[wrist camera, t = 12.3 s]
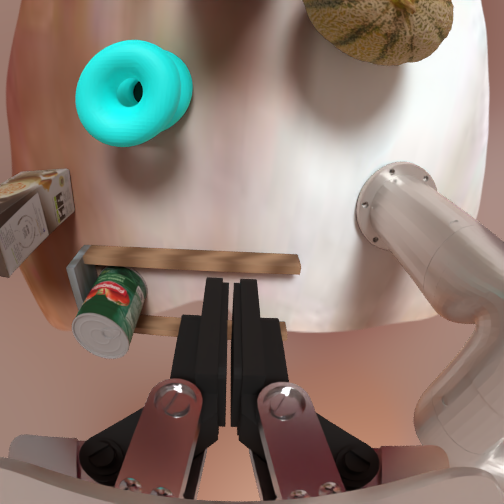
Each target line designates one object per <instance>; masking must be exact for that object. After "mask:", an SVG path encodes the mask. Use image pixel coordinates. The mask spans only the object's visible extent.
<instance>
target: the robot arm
mask: <svg viewBox="0 0 504 504" xmlns="http://www.w3.org/2000/svg"><path fill="white" fill-rule="evenodd" d="M389 171H390V172H389ZM363 203H364V204H363ZM356 214H357V222H358V225H359V228H360V230H361V231H362V233H363V235H364V236H365V237H366V239H367V240H368V241H369V242H370V243H371V244H373V245H374V246H376V247H378V248H381V249H385V250H390V251H391V252H392V253H393V254H394V256H395V257H396V258H397V260H398V261H399V262H400V264H401V265H402V266H403V267H404V269H405V270H406V271H407V273H408V274H409V275H410V277H411V278H412V280H413V281H414V282H415V284H416V285H417V286H418V288H419V289H420V291H421V292H422V293H423V295H424V296H425V298H426V299H427V300H428V302H429V303H430V304H431V306H432V307H433V309H434V310H435V311H436V312H437V313H438V314H439V315H440V316H442V317H443V318H445V319H447V320H449V321H452V322H455V323H462V324H476V327H475V330H474V332H473V334H472V335H471V337H470V338H469V339H468V341H467V342H466V343H465V345H464V347H463V348H462V349H461V350H460V352H459V353H458V354H457V355H456V356H455V357H454V359H453V360H452V361H451V362H450V363H449V365H448V366H447V367H446V368H445V369H444V370H443V371H442V372H441V373H440V374H439V376H438V377H437V378H436V379H435V380H434V381H433V382H432V384H431V385H430V386H429V387H428V388H427V389H426V391H425V392H424V393H423V394H422V396H421V398H420V399H419V401H418V403H417V406H416V408H415V412H414V426H415V431H416V434H417V436H418V438H419V440H420V442H421V444H422V446H381V447H380V448H371V447H370V446H369V445H367V444H366V443H364V442H362V441H361V440H359V439H357V438H356V437H354V436H352V435H350V434H349V433H347V432H346V431H344V430H343V429H341V428H339V427H338V426H336V425H335V424H333V423H331V422H329V421H328V420H327V419H325V418H324V417H322V416H320V415H319V414H317V413H316V412H315V409H314V406H313V404H312V401H311V399H310V397H309V395H308V394H307V392H306V391H305V390H304V389H302V388H301V387H300V386H298V385H295V384H293V383H289V380H288V374H287V367H286V360H285V354H284V348H283V341H282V335H281V329H280V323H279V319H278V318H260V308H259V298H258V287H257V280H256V279H240V283H234V292H233V312H232V333H231V427H237V435H239V441H240V442H241V443H243V444H244V445H245V446H246V447H248V448H249V454H250V458H251V463H252V467H253V471H254V476H255V479H256V484H257V488H258V492H259V496H260V500H261V501H254V502H253V501H251V502H231V501H228V502H227V501H205V500H196V499H197V494H198V490H199V485H200V481H201V476H202V471H203V467H204V462H205V458H206V453H207V448H208V447H209V446H211V445H212V444H213V443H214V442H216V441H217V440H218V433H219V431H218V430H219V426H222V427H223V426H224V427H225V415H226V413H225V412H226V375H227V372H226V371H227V330H228V295H229V283H225V282H223V278H209V277H207V279H206V286H205V293H204V301H203V308H202V316H199V315H182V317H181V322H180V327H179V332H178V337H177V343H176V349H175V354H174V359H173V365H172V371H171V377H170V379H167V380H164V381H162V382H159V383H158V384H157V385H156V386H154V387H153V388H152V390H151V392H150V393H149V396H148V398H147V401H146V403H145V406H144V407H143V408H141V409H140V410H138V411H136V412H135V413H133V414H131V415H129V416H128V417H126V418H124V419H123V420H121V421H119V422H117V423H116V424H114V425H112V426H110V427H109V428H107V429H105V430H104V431H102V432H100V433H98V434H96V435H95V436H93V437H91V438H89V439H88V440H87V441H78V439H77V438H63V437H48V436H36V435H19V436H18V437H16V438H15V439H14V440H13V441H12V442H11V445H10V448H9V456H8V458H3V457H0V504H504V493H503V492H504V242H503V241H502V240H501V239H500V238H498V237H497V236H496V235H495V234H494V233H492V232H491V231H490V230H488V229H487V228H486V227H485V226H483V225H482V224H481V223H479V222H478V221H477V220H476V219H474V218H473V217H472V216H470V215H469V214H468V213H466V212H465V211H464V210H462V209H461V208H460V207H458V206H457V205H456V204H454V203H453V202H451V201H450V200H449V199H447V198H446V197H444V196H443V195H441V194H440V193H438V192H437V188H436V185H435V183H434V181H433V179H432V177H431V176H430V175H429V174H428V173H427V172H426V171H425V170H424V169H423V168H421V167H419V166H417V165H415V164H413V163H409V162H395V163H391V164H388V165H386V166H384V167H382V168H380V169H379V170H377V171H376V172H375V173H374V174H373V175H372V176H371V177H370V178H369V179H368V180H367V182H366V183H365V185H364V186H363V188H362V190H361V192H360V195H359V198H358V202H357V210H356Z"/></svg>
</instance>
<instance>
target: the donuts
mask: <svg viewBox="0 0 504 504" xmlns="http://www.w3.org/2000/svg"><path fill="white" fill-rule="evenodd" d="M138 82H140V83H141V85H142V87H143V96H142V98H141V100H140V102H139V103H138V102H137V101H136V100H135V98H134V94H133V90H134V87H135V85H136V84H137V83H138ZM192 92H193V84H192V78H191V75H190V72H189V70H188V68H187V66H186V65H185V63H184V62H183V61H182V60H181V59H180V58H179V57H177V56H176V55H174V54H173V53H171V52H169V51H166V50H163V49H161V48H160V47H158V46H156V45H154V44H152V43H149V42H146V41H141V40H126V41H121V42H118V43H115V44H112V45H110V46H108V47H106V48H104V49H103V50H101V51H100V52H99V53H97V54H96V55H95V56H94V57H93V58H92V59H91V60H90V61H89V63H88V64H87V65H86V67H85V68H84V70H83V72H82V74H81V76H80V79H79V81H78V84H77V89H76V108H77V113H78V116H79V118H80V121H81V123H82V124H83V126H84V128H85V129H86V130H87V131H88V133H89V134H90V135H92V136H93V137H94V138H95V139H97V140H98V141H100V142H102V143H105V144H107V145H111V146H116V147H130V146H135V145H139V144H142V143H144V142H146V141H148V140H150V139H152V138H153V137H155V136H156V135H158V134H159V133H160V132H162V131H164V130H166V129H168V128H170V127H171V126H173V125H174V124H175V123H176V122H178V121H179V120H180V119H181V117H182V116H183V115H184V113H185V112H186V110H187V108H188V106H189V104H190V101H191V98H192Z"/></svg>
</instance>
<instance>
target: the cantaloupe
mask: <svg viewBox="0 0 504 504" xmlns="http://www.w3.org/2000/svg"><path fill="white" fill-rule="evenodd" d="M303 2H304V5H305V8H306V11H307V14H308V17H309V19H310V21H311V22H312V24H313V25H314V27H315V29H316V30H317V31H318V32H319V33H320V34H321V35H322V36H323V37H324V38H325V39H326V40H328V41H329V42H331V43H332V44H333V45H334V46H335V47H336V48H337V49H339V50H341V51H342V52H343V53H346V54H347V55H349V56H351V57H353V58H355V59H358V60H361V61H367V62H371V63H373V64H377V65H387V66H392V65H394V66H396V65H401V64H404V63H407V62H418V61H420V60H422V59H424V58H427V57H428V56H430V55H431V54H432V53H433V52H434V51H435V50H436V49H437V48H438V47H439V45H440V44H441V43H442V41H443V40H444V39H445V38H446V37H447V36H448V33H449V31H450V30H451V27H452V23H453V7H454V6H453V4H452V2H451V0H303Z"/></svg>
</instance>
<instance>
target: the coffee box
mask: <svg viewBox="0 0 504 504" xmlns="http://www.w3.org/2000/svg"><path fill="white" fill-rule="evenodd" d="M74 211H75V208H74V202H73V195H72V188H71V181H70V173H69V170H68V169H54V170H40V171H27V172H20V173H19V174H17V175H15V176H13V177H12V178H10V179H8V180H7V181H5V182H3V183H1V184H0V276H2V277H8V278H9V277H10V275H11V274H12V273H13V272H14V271H15V270H16V269H17V268H18V267H19V266H20V265H21V263H22V262H23V261H24V260H25V259H26V258H27V257H28V256H29V255H30V254H31V253H32V252H33V251H34V250H35V249H36V248H37V247H38V246H39V245H40V244H41V243H42V242H43V241H44V240H45V239H46V238H47V237H48V236H49V235H50V234H51V233H52V232H53V231H54V230H55V229H56V228H57V227H58V226H59V225H60V224H61V223H62V222H63V221H64V220H65V219H66V218H68V217H69V216H70V215H71V214H72V213H73V212H74Z"/></svg>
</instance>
